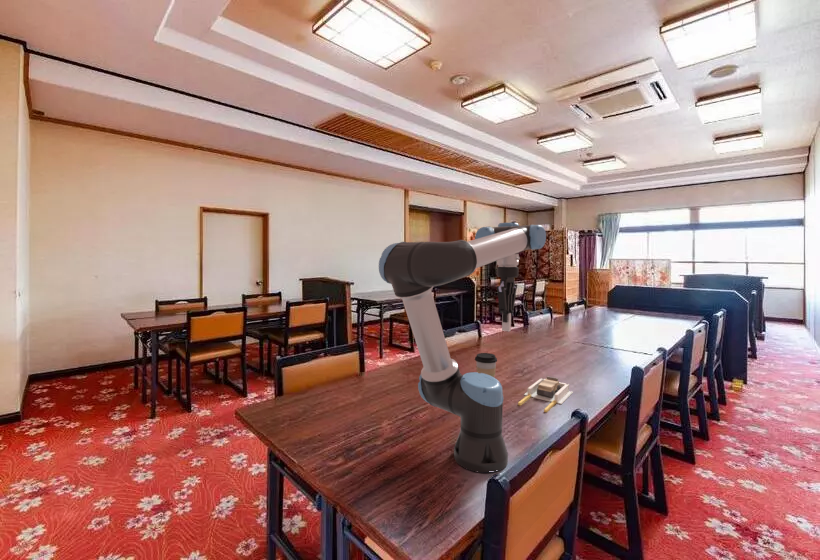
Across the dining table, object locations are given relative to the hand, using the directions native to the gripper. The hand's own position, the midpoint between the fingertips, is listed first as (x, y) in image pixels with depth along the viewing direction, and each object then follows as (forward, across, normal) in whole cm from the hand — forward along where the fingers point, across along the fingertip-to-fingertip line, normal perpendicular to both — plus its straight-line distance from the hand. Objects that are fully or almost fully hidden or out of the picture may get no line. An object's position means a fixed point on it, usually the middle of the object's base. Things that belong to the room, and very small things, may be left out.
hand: (506, 330), depth 137 cm
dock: (+30, +22, -7) cm, 38 cm away
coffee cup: (+31, +16, +16) cm, 38 cm away
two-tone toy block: (+30, +28, -7) cm, 41 cm away
